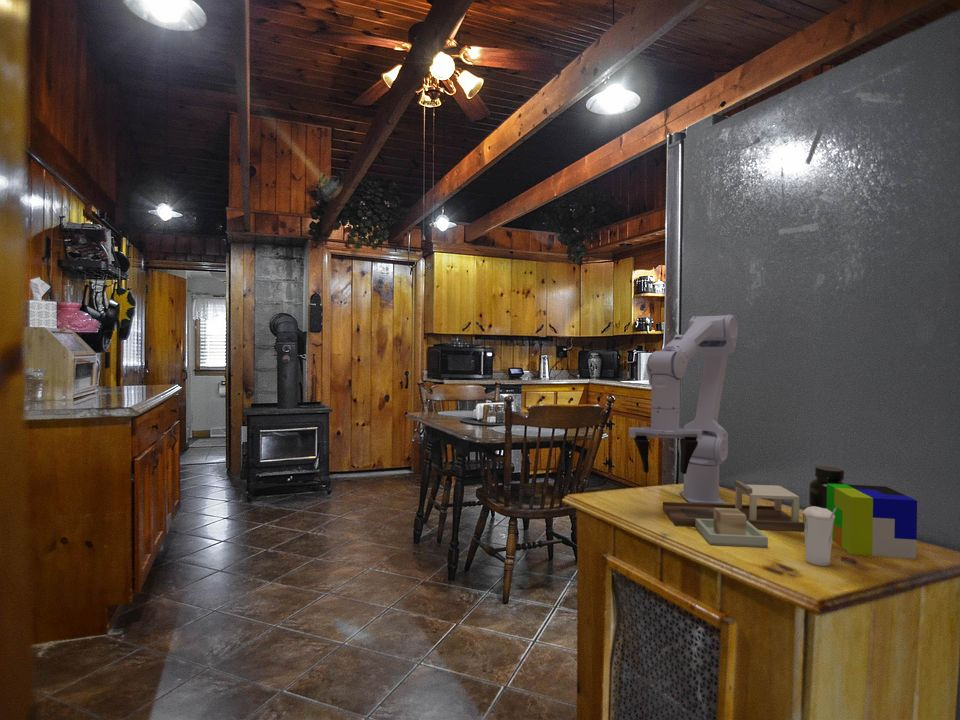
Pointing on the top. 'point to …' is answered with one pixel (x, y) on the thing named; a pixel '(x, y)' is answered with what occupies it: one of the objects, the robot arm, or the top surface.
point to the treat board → (765, 514)
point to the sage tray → (749, 540)
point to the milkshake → (818, 534)
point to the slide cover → (765, 492)
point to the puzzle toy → (873, 520)
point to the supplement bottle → (823, 484)
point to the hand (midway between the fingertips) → (664, 472)
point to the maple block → (729, 521)
